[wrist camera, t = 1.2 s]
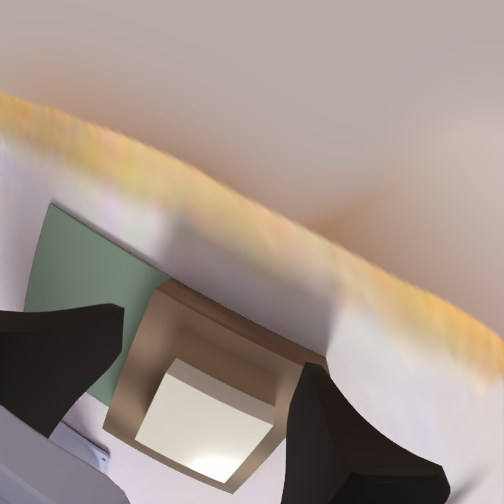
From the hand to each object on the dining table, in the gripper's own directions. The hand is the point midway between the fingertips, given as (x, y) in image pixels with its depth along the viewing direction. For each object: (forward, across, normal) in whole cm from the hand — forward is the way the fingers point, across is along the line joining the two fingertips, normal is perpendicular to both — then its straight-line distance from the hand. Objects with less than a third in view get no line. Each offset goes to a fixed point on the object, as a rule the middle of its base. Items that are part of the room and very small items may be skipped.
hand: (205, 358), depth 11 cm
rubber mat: (+9, +13, +6) cm, 17 cm away
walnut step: (+9, +1, +9) cm, 13 cm away
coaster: (+6, 0, +9) cm, 11 cm away
